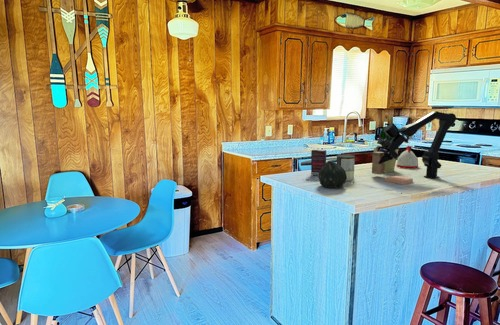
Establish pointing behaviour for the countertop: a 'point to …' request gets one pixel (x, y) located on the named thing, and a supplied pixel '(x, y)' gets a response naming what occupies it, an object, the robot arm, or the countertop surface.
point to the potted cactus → (391, 163)
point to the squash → (332, 175)
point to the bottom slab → (399, 184)
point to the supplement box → (317, 161)
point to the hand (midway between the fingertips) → (376, 162)
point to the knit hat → (407, 159)
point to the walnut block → (376, 166)
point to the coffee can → (347, 164)
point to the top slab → (399, 179)
